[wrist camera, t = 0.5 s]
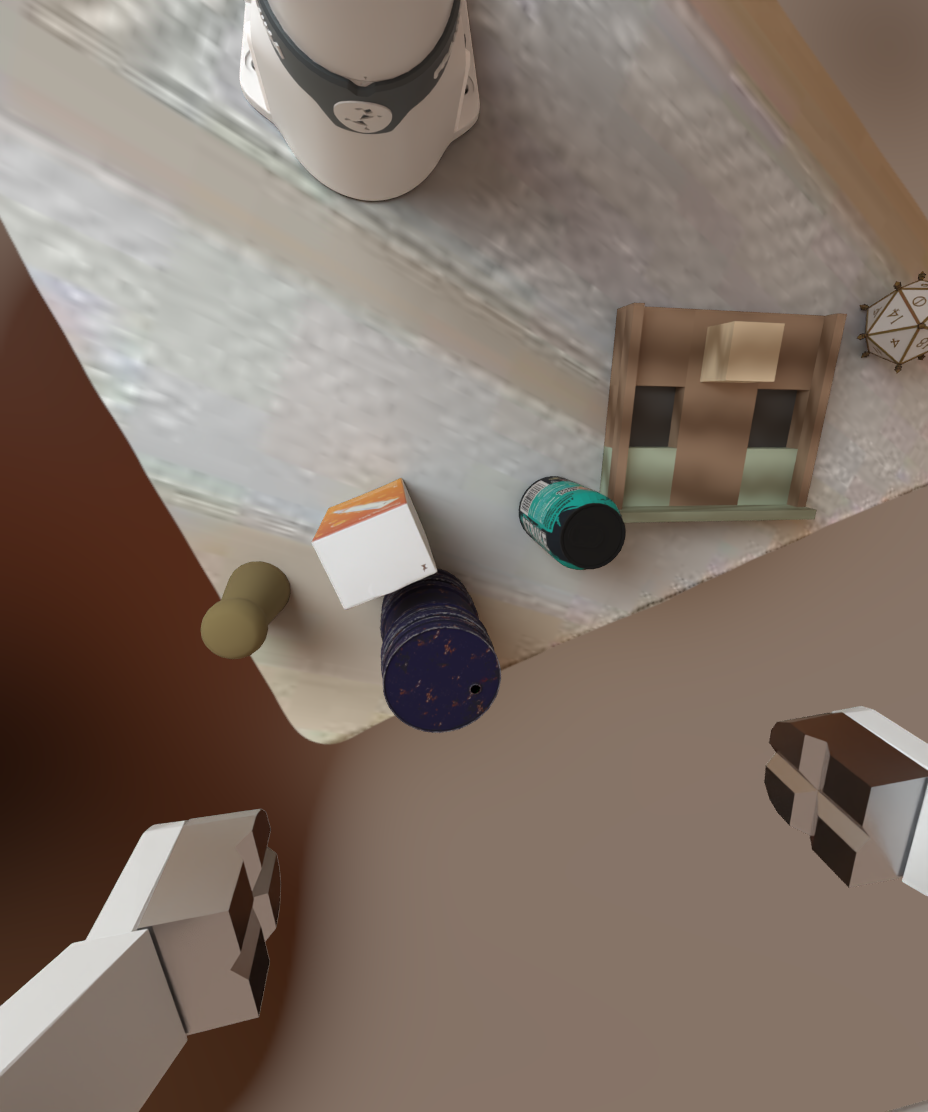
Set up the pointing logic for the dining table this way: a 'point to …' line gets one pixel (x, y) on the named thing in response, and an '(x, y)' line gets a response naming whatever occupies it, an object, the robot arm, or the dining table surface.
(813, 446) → the box
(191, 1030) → the robot arm
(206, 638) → the olive rounded lobed piece
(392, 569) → the small box
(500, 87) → the dining table surface
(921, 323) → the game die
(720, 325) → the beech block
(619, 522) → the beverage can
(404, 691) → the storage jar
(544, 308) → the dining table surface
